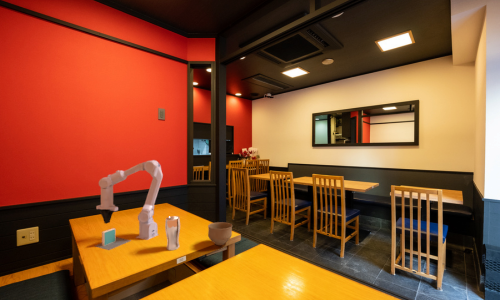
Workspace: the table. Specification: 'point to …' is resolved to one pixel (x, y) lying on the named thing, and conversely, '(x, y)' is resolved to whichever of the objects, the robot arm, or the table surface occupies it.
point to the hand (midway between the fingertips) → (107, 222)
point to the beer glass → (172, 232)
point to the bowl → (220, 232)
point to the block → (108, 236)
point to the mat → (113, 244)
